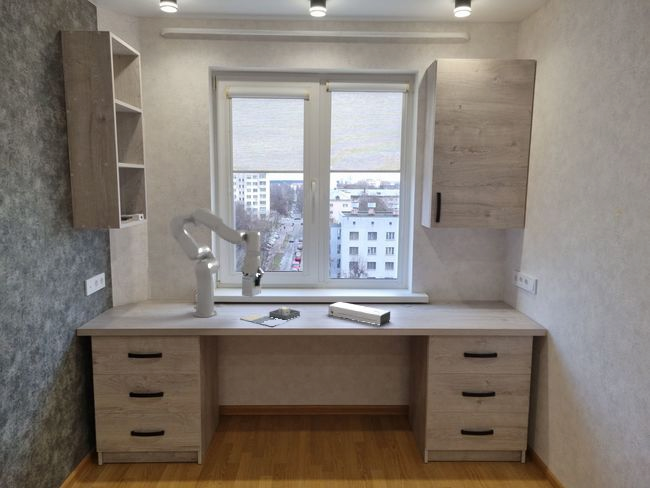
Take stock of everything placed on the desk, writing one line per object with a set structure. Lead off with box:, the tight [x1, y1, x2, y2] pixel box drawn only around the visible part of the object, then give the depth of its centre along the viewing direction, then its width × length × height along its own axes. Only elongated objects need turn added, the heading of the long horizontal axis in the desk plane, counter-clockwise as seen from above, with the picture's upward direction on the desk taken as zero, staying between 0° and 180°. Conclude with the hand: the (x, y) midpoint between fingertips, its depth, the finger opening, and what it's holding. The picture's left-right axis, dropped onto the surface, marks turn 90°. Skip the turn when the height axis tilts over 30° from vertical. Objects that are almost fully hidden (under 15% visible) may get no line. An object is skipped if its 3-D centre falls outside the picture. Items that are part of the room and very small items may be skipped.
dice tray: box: [268, 308, 301, 321], centre depth 249 cm, size 12×12×3 cm
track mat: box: [239, 313, 276, 325], centre depth 241 cm, size 24×12×1 cm, turn 54°
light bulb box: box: [241, 274, 262, 298], centre depth 244 cm, size 11×7×11 cm, turn 160°
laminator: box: [328, 301, 391, 326], centre depth 249 cm, size 34×12×6 cm, turn 55°
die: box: [278, 306, 291, 315], centre depth 249 cm, size 5×5×5 cm
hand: (251, 284), depth 244 cm, fingers closed on light bulb box, 8 cm apart
